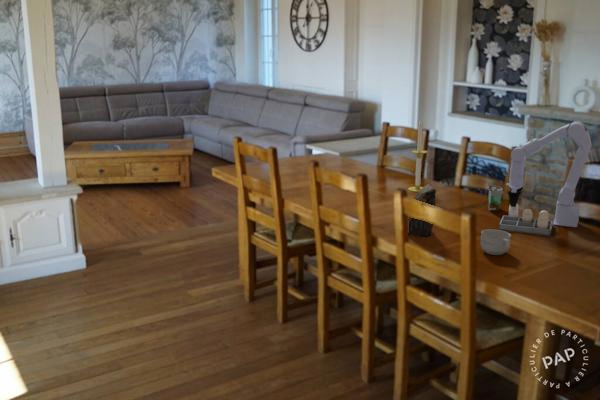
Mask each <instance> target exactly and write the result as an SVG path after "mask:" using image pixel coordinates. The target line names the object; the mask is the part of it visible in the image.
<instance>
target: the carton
mask: <svg viewBox="0 0 600 400" xmlns="http://www.w3.org/2000/svg"><path fill="white" fill-rule="evenodd" d="M537 222H538V218H533V217H532V223H528V222H522V216H518V217H514V216H508V215H502V217H501V219H500V221H499V225H498V230H501V231H505V232H514V233H523V234H530V235H539V236H548V237H551V234H552V229H553V223H554V220H550V219H549V221H548V226H547V229H540V228H537Z"/></svg>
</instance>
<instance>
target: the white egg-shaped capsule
mask: <svg viewBox="0 0 600 400" xmlns="http://www.w3.org/2000/svg"><path fill="white" fill-rule="evenodd" d="M519 210H520V208H519V203H517V204H516V207H511V206H510V204H509V206H508V215H507V216H514V217H519Z"/></svg>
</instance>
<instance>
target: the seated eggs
mask: <svg viewBox="0 0 600 400" xmlns="http://www.w3.org/2000/svg"><path fill="white" fill-rule="evenodd" d="M521 217H522V222H528V223H532V218H533V211H532V210H531V208H525V209H523V211H522V216H521ZM537 219H538V222H537V228H540V229H547V226H548V221H549V220H550V214H549V212H548V211H547V210H545V209H544V210H541V211H540V212H539V213H538V217H537Z"/></svg>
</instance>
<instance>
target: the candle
mask: <svg viewBox="0 0 600 400" xmlns="http://www.w3.org/2000/svg"><path fill="white" fill-rule="evenodd" d="M423 126H424V125H423V121H422V118H420V119H419V122H418V126H417V146H416V147H417V149H413V150H410V152H411V154H416V157H415V158H416V161H415V162H416V163H415V185H414V186H410V187H408V188H407V190H408V191H409V192H413V193H415V192H416V193H418V192H419V191H420V190H421V189H422V188H423V186H421V179H422V178H421V173H422V154H428V150H425V149H422V147H423V146H422V145H423V144H422V143H423Z"/></svg>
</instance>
